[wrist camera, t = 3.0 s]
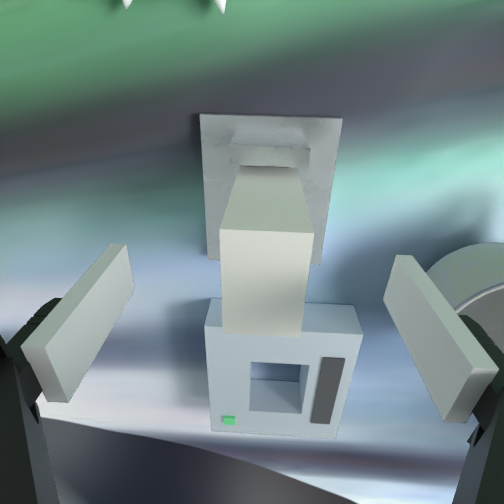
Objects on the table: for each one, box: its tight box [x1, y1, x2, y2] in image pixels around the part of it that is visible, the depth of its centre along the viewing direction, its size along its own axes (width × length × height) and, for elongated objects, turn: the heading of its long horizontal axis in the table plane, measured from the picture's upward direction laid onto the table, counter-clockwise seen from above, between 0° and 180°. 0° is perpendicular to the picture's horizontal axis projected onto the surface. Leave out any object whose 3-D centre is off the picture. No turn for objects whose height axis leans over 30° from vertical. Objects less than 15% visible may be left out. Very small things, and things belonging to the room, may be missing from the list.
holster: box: [200, 113, 342, 265], centre depth 24 cm, size 10×12×5 cm
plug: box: [219, 165, 314, 337], centre depth 20 cm, size 4×6×12 cm, turn 179°
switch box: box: [204, 298, 363, 439], centre depth 34 cm, size 14×16×4 cm
